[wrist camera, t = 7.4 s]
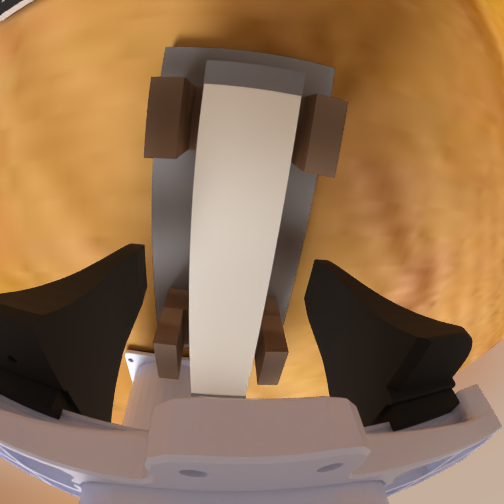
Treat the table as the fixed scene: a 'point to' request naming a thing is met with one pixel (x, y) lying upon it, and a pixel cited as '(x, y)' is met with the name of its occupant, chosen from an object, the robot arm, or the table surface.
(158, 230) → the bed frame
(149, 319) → the table surface
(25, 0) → the gaming console
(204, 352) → the rail
